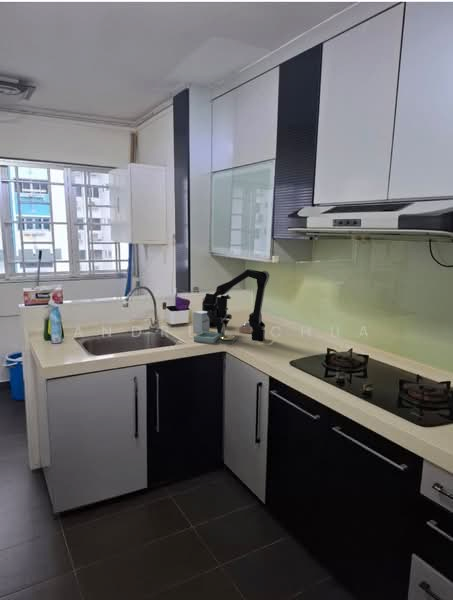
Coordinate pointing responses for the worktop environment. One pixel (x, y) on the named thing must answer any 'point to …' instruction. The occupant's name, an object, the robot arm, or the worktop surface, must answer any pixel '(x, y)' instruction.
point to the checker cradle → (227, 341)
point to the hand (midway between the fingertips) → (220, 332)
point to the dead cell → (246, 325)
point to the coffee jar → (207, 308)
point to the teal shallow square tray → (207, 337)
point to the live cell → (222, 330)
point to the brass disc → (227, 337)
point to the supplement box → (200, 322)
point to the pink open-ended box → (245, 329)
